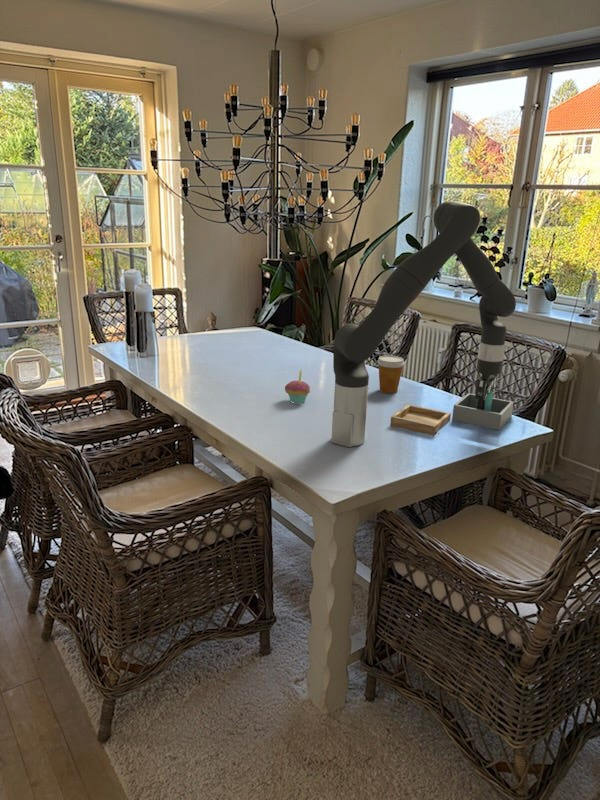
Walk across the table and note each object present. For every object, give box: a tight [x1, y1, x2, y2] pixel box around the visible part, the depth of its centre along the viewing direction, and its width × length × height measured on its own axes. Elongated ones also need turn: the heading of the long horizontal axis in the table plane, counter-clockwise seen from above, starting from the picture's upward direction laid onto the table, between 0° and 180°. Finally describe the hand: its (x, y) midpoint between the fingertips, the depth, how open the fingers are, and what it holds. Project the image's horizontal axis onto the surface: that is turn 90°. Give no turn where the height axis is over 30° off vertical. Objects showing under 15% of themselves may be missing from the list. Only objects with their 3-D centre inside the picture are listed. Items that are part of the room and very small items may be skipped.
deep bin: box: [451, 392, 515, 431], centre depth 191 cm, size 15×15×6 cm
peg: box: [476, 390, 494, 411], centre depth 191 cm, size 4×4×9 cm
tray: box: [389, 404, 452, 437], centre depth 188 cm, size 14×14×3 cm
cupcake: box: [284, 370, 311, 404], centre depth 203 cm, size 9×8×12 cm
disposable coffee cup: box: [376, 355, 405, 394], centre depth 218 cm, size 10×10×12 cm
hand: (484, 407), depth 191 cm, fingers open, 8 cm apart
